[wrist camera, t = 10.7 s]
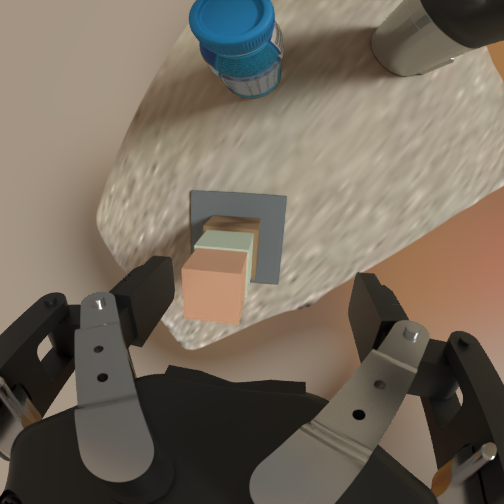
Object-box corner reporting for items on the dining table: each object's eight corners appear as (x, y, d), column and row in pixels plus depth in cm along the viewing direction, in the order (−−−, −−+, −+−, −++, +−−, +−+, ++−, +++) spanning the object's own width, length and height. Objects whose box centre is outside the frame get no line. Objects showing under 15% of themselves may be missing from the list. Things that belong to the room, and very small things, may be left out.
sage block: (253, 233, 35) (249, 249, 29) (250, 276, 37) (246, 298, 32) (207, 229, 35) (194, 245, 30) (207, 272, 38) (195, 293, 32)
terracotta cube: (247, 251, 30) (241, 274, 24) (244, 296, 32) (238, 324, 26) (197, 247, 30) (181, 268, 25) (198, 291, 32) (184, 318, 27)
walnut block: (260, 218, 40) (257, 229, 35) (257, 262, 43) (254, 279, 37) (213, 214, 41) (203, 225, 35) (212, 258, 43) (203, 275, 38)
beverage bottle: (256, 111, 35) (237, 73, 17) (211, 79, 34) (156, 28, 15) (293, 69, 32) (308, 4, 14) (247, 39, 31) (223, -36, 12)
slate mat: (286, 196, 39) (286, 196, 39) (278, 283, 44) (278, 284, 44) (191, 190, 40) (191, 190, 40) (192, 275, 45) (192, 276, 45)
